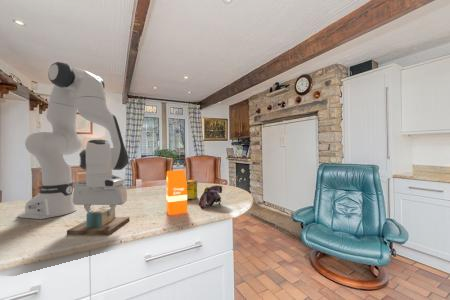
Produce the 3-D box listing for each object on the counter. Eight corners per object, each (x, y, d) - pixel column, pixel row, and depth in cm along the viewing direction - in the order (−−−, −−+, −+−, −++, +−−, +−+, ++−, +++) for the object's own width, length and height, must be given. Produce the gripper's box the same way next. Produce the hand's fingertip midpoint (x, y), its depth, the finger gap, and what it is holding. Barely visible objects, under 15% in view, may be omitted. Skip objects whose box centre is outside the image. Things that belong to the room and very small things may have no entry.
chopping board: (66, 234, 75) (66, 230, 75) (93, 220, 89) (93, 217, 89) (109, 234, 74) (109, 230, 74) (129, 220, 88) (129, 217, 88)
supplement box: (194, 200, 120) (193, 181, 120) (184, 199, 121) (184, 181, 121) (197, 197, 126) (197, 179, 126) (188, 197, 127) (188, 179, 127)
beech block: (103, 218, 87) (86, 227, 77) (103, 206, 87) (86, 214, 77) (115, 218, 87) (99, 227, 77) (114, 206, 87) (99, 214, 77)
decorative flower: (198, 184, 116) (223, 177, 113) (206, 202, 119) (230, 195, 116) (191, 198, 102) (219, 190, 99) (200, 217, 105) (227, 210, 102)
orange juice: (166, 210, 102) (165, 170, 101) (184, 208, 105) (183, 169, 105) (168, 215, 94) (167, 171, 94) (187, 212, 98) (186, 170, 98)
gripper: (67, 182, 78) (68, 218, 79) (119, 182, 78) (120, 218, 78) (80, 179, 85) (81, 212, 85) (128, 179, 84) (129, 212, 84)
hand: (100, 215), depth 81 cm, fingers open, 7 cm apart
